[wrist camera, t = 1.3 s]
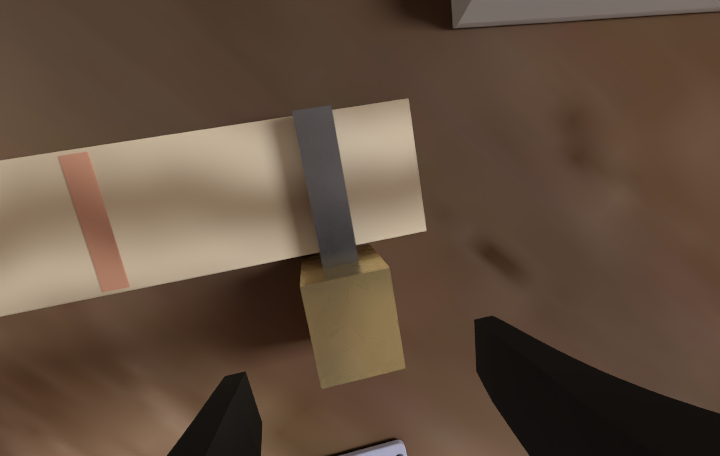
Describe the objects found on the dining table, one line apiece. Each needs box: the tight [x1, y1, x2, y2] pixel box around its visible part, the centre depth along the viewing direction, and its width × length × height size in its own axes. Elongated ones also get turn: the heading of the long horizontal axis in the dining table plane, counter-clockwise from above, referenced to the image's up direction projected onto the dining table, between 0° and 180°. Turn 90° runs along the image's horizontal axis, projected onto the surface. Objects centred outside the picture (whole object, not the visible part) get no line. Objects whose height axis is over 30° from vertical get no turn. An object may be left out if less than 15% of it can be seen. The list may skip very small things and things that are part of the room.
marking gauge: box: [292, 105, 405, 389], centre depth 17 cm, size 12×4×5 cm, turn 10°
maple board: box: [0, 99, 426, 317], centre depth 17 cm, size 7×28×2 cm, turn 100°
